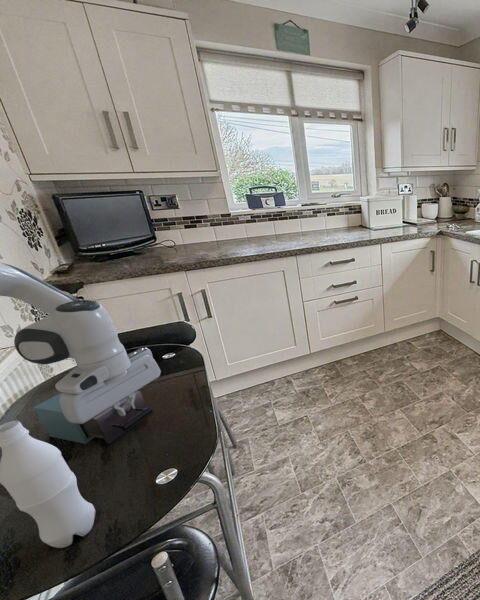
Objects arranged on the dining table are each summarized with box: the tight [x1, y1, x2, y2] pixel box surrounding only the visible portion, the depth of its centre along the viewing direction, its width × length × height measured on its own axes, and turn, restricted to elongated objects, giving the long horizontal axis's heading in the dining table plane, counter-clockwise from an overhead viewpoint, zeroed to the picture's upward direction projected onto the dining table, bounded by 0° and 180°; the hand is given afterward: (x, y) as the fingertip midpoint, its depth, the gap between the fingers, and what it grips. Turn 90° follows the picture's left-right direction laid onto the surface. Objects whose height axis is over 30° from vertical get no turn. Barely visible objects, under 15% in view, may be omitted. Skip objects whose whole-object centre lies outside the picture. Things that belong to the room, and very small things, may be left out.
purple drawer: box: [79, 390, 153, 445], centre depth 85 cm, size 18×11×8 cm, turn 74°
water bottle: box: [0, 420, 96, 549], centre depth 56 cm, size 7×7×25 cm
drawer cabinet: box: [32, 392, 96, 445], centre depth 89 cm, size 14×12×10 cm
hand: (127, 412), depth 83 cm, fingers closed
